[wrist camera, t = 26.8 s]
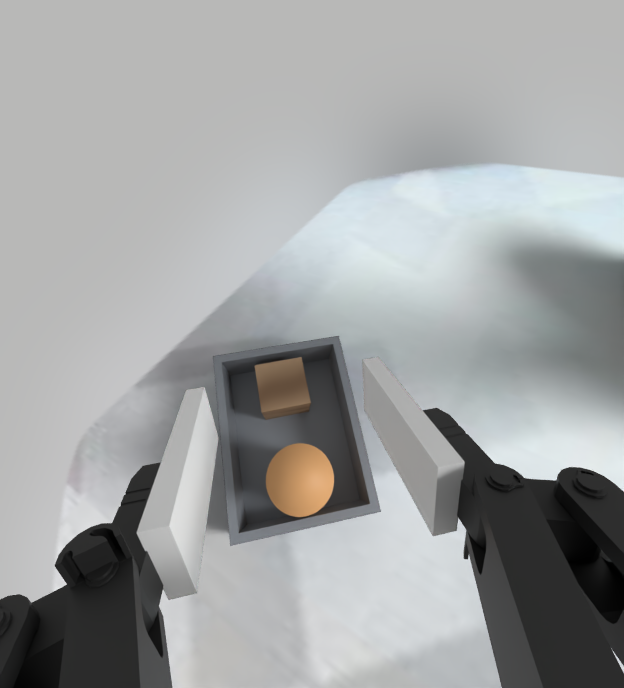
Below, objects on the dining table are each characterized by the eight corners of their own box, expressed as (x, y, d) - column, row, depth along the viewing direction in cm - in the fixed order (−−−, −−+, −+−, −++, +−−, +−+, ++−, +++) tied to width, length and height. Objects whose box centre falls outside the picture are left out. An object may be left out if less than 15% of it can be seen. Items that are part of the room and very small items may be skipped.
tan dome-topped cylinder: (287, 444, 36) (284, 432, 25) (328, 464, 36) (344, 460, 25) (267, 489, 35) (253, 497, 23) (310, 510, 34) (317, 529, 23)
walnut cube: (259, 377, 39) (254, 365, 34) (300, 370, 40) (301, 356, 35) (265, 419, 37) (261, 412, 33) (308, 411, 38) (310, 402, 33)
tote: (224, 372, 40) (213, 356, 34) (332, 354, 42) (338, 335, 36) (241, 533, 34) (230, 545, 28) (367, 505, 35) (380, 511, 30)
